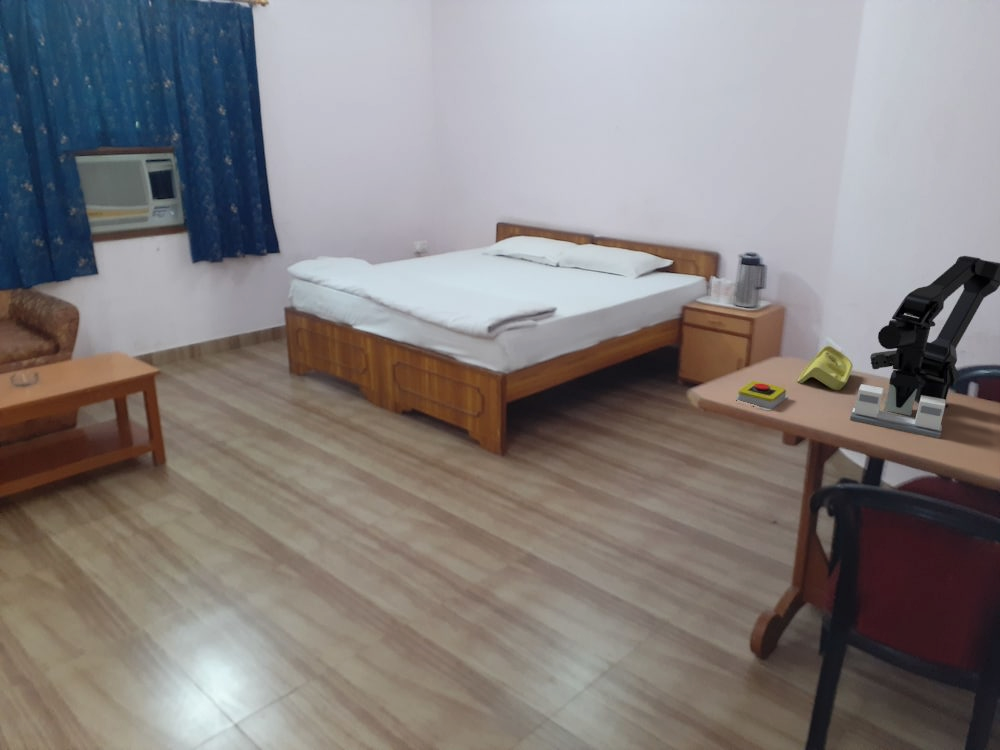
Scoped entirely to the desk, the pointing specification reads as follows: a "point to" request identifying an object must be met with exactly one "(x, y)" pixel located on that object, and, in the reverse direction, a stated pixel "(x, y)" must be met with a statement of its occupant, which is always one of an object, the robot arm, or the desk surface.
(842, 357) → the plastic component
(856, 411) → the rail board
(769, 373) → the desk surface
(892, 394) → the block
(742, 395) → the emergency button
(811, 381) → the desk surface
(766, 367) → the desk surface
